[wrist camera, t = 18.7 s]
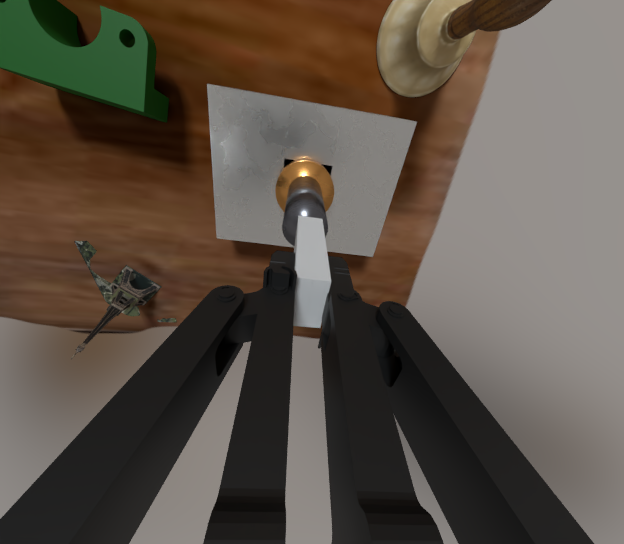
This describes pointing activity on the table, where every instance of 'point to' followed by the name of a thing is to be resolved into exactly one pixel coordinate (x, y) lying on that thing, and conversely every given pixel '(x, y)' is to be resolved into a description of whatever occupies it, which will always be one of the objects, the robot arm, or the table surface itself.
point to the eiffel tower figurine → (119, 292)
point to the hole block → (302, 145)
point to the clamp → (82, 55)
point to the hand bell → (438, 37)
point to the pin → (303, 194)
